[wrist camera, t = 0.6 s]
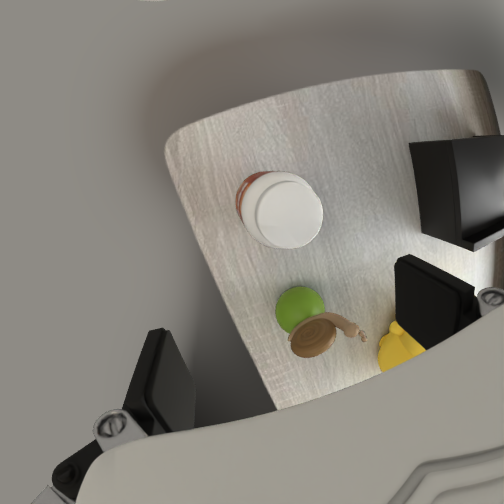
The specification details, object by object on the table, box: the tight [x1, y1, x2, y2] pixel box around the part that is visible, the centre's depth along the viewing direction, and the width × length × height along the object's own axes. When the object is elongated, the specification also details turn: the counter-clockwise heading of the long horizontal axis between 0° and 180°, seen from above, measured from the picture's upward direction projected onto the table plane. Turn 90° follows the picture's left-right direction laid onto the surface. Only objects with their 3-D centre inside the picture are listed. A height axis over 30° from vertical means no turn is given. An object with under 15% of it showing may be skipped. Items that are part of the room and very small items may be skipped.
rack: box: [409, 135, 504, 252], centre depth 27 cm, size 12×16×10 cm
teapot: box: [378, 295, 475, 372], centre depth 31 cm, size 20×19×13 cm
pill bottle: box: [236, 171, 323, 249], centre depth 24 cm, size 6×6×11 cm
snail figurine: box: [275, 287, 367, 358], centre depth 27 cm, size 5×6×12 cm
